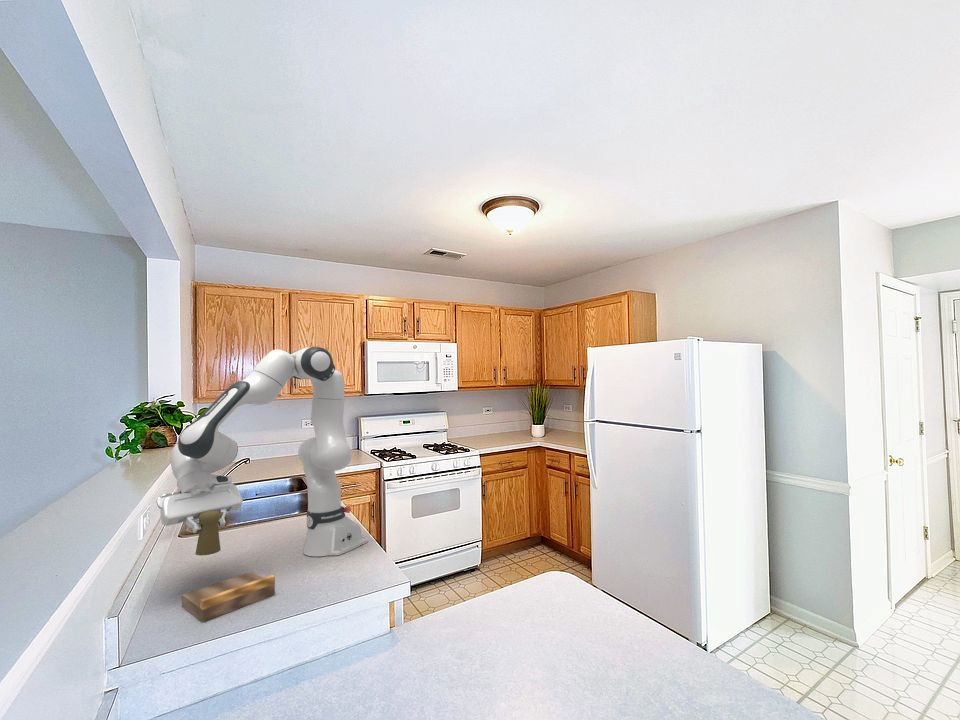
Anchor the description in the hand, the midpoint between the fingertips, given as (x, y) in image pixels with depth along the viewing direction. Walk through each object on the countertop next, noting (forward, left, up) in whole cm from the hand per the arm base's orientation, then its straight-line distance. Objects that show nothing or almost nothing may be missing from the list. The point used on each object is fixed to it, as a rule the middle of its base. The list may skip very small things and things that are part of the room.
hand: (210, 528), depth 125 cm
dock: (-2, +7, -18) cm, 20 cm away
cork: (0, -1, -7) cm, 7 cm away
